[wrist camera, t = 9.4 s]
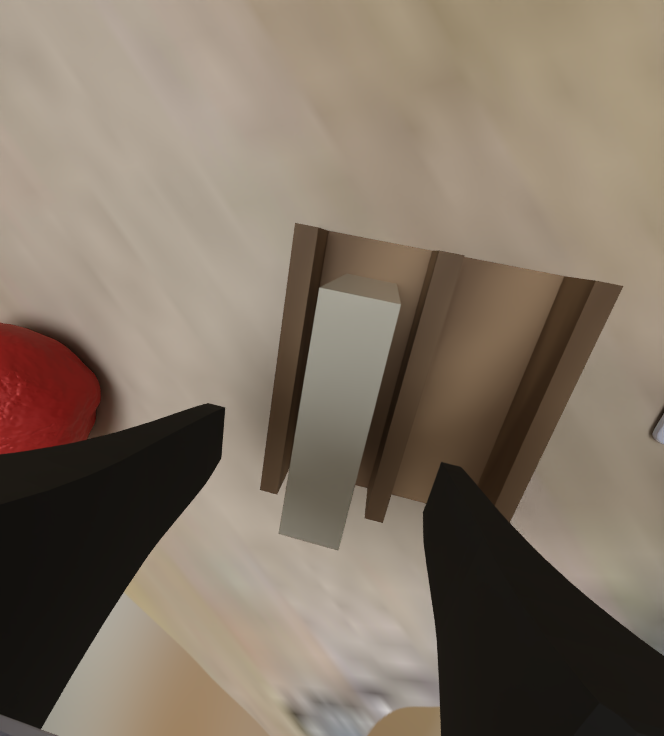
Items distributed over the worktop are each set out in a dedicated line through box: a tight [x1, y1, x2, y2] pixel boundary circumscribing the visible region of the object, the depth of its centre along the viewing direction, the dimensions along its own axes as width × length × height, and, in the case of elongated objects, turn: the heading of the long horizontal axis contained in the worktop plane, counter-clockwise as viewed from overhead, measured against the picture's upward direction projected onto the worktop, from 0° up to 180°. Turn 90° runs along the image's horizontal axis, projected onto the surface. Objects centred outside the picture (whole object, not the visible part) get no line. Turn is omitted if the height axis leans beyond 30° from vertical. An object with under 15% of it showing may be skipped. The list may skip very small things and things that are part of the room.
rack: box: [260, 223, 623, 523], centre depth 17 cm, size 13×14×4 cm
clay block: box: [279, 274, 401, 550], centre depth 15 cm, size 2×10×7 cm, turn 170°
